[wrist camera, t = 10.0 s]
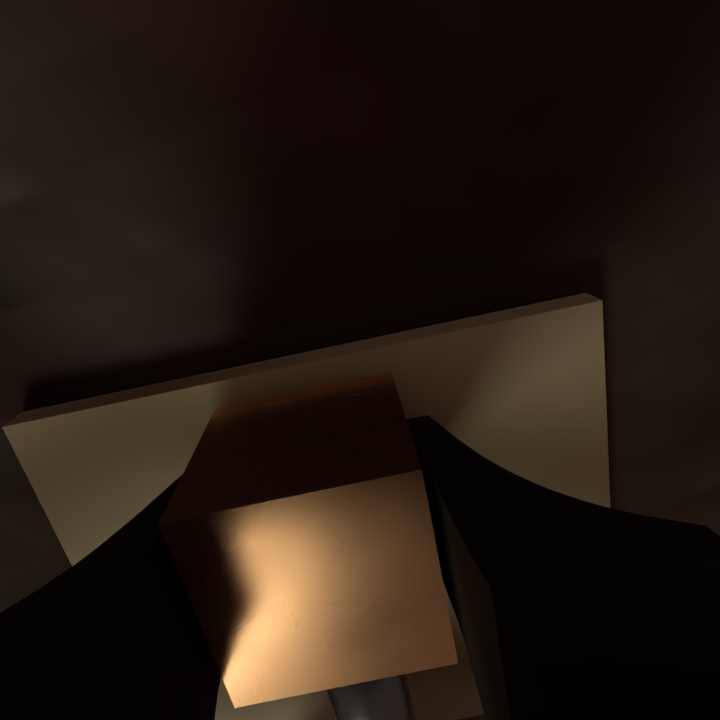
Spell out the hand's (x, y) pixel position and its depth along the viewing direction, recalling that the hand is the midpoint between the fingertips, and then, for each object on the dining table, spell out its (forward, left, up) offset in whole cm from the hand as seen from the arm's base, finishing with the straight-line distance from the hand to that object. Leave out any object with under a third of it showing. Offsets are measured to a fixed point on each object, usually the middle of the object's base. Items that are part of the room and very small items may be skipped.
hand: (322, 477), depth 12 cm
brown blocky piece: (-4, 0, 0) cm, 4 cm away
